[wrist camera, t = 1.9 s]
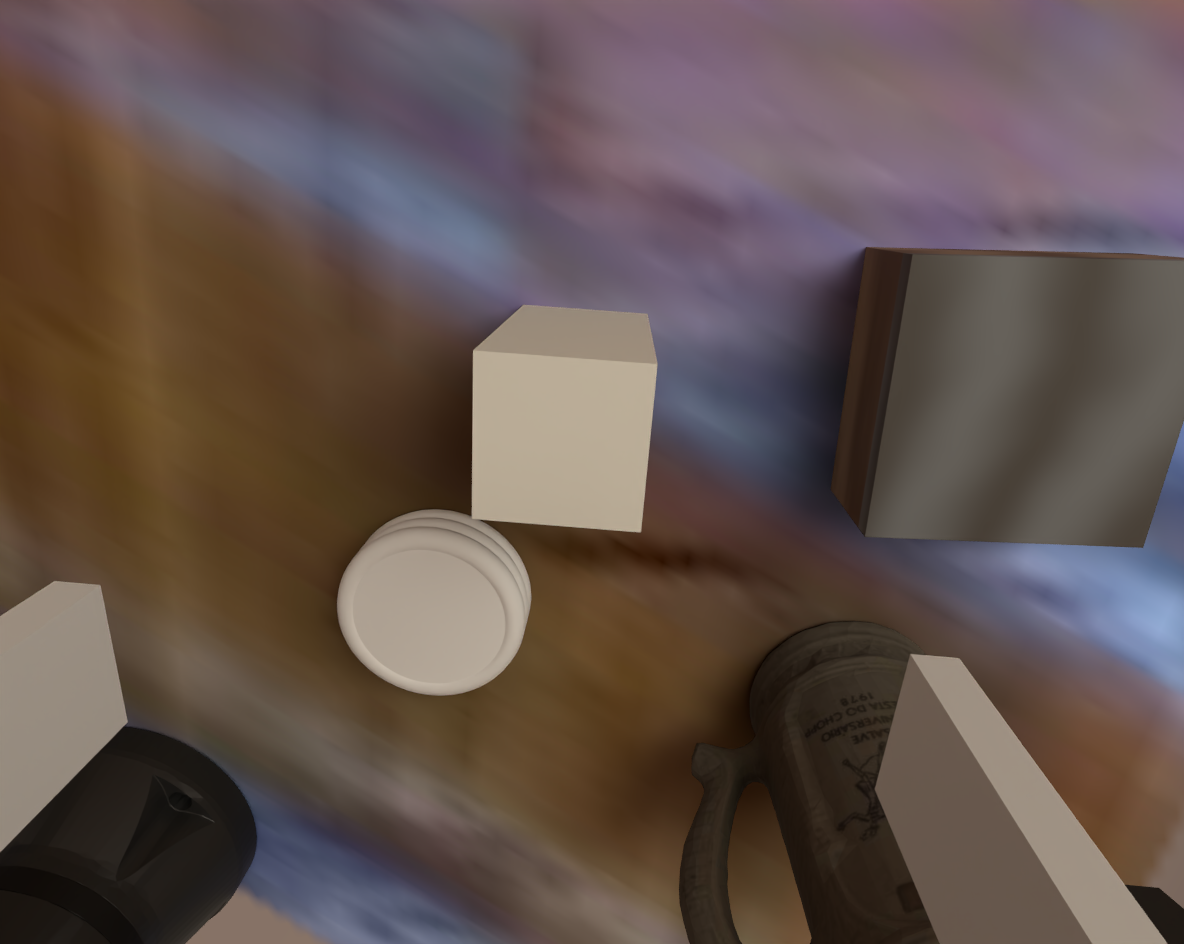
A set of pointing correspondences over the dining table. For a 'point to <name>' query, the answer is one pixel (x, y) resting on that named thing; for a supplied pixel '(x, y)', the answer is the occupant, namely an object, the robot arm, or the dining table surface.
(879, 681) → the beer stein
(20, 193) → the dining table surface
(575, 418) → the cream block
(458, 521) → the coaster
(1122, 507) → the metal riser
